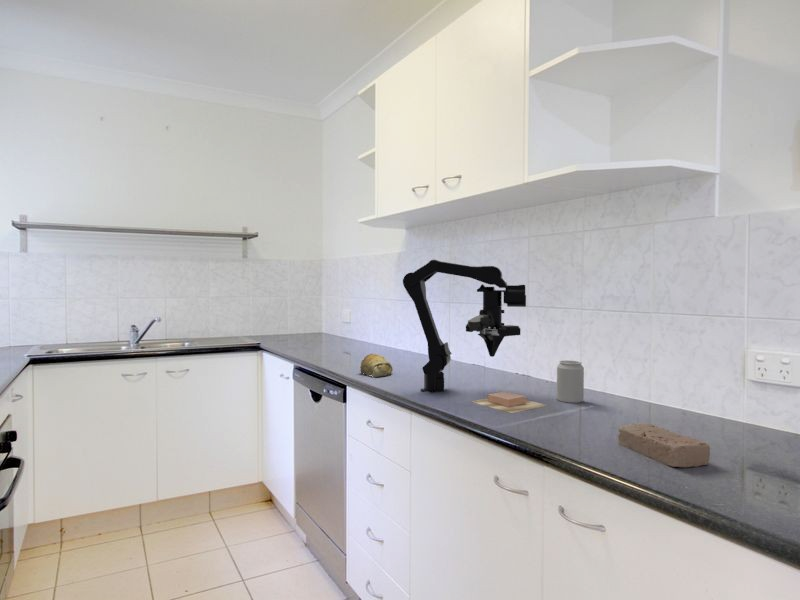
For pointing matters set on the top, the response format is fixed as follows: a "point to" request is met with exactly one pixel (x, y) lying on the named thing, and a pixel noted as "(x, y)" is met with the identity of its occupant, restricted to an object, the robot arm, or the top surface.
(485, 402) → the board
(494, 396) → the tile
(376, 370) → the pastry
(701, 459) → the brick
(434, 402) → the top surface
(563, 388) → the can
